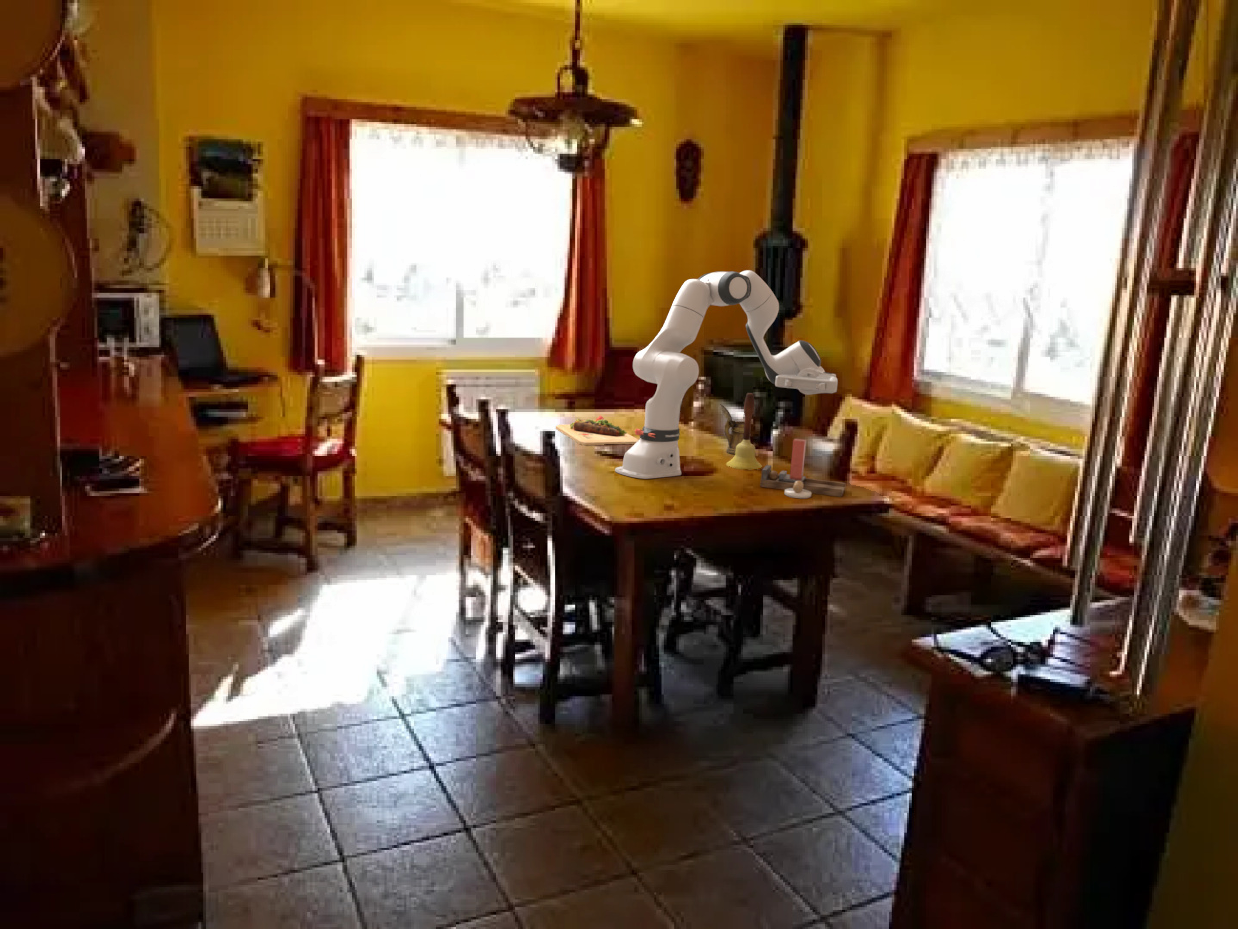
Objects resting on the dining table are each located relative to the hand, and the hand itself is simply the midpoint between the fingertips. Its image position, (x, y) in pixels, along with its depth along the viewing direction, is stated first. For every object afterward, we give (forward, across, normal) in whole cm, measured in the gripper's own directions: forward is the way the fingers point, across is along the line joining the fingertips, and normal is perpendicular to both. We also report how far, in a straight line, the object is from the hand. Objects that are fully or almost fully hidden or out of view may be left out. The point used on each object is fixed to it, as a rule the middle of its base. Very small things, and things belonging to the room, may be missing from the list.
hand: (803, 385), depth 312 cm
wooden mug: (-26, -26, +30) cm, 48 cm away
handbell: (-7, -18, +30) cm, 36 cm away
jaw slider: (+16, +1, +28) cm, 33 cm away
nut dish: (+26, +5, +30) cm, 40 cm away
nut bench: (+16, +5, +30) cm, 34 cm away
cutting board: (-29, -80, +31) cm, 91 cm away
